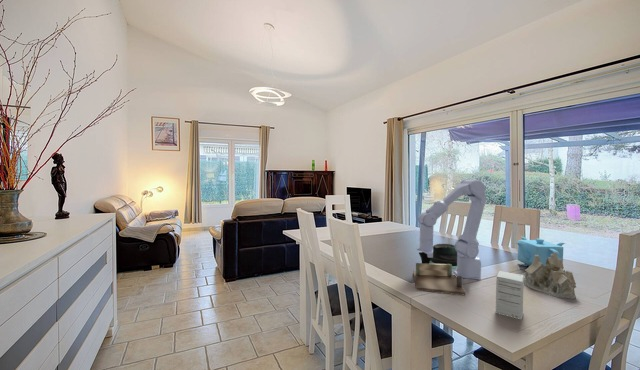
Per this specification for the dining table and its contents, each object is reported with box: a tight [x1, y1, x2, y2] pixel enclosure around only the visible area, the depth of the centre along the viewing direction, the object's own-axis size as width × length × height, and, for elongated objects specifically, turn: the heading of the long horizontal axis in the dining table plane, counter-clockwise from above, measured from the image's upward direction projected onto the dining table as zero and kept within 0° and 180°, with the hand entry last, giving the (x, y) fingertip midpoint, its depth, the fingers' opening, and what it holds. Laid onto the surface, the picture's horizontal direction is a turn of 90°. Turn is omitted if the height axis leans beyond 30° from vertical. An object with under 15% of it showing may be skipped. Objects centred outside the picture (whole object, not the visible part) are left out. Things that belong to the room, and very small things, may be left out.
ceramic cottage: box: [524, 252, 577, 300], centre depth 115 cm, size 16×16×15 cm
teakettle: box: [514, 236, 566, 267], centre depth 142 cm, size 19×19×15 cm
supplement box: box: [495, 270, 525, 320], centre depth 96 cm, size 7×7×13 cm
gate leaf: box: [415, 262, 453, 276], centre depth 127 cm, size 16×2×5 cm, turn 85°
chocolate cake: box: [430, 243, 457, 269], centre depth 151 cm, size 20×20×9 cm
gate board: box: [413, 270, 467, 296], centre depth 121 cm, size 18×20×5 cm
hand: (425, 268), depth 129 cm, fingers closed
